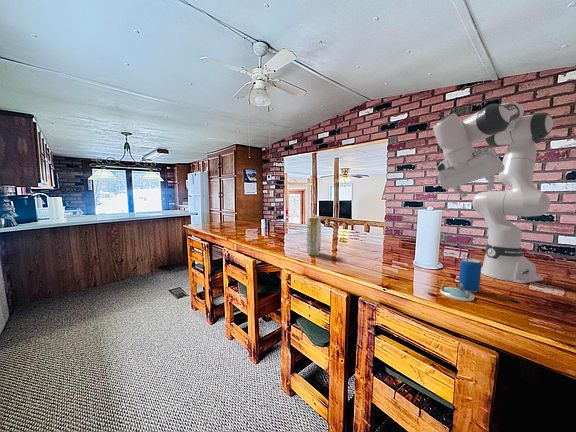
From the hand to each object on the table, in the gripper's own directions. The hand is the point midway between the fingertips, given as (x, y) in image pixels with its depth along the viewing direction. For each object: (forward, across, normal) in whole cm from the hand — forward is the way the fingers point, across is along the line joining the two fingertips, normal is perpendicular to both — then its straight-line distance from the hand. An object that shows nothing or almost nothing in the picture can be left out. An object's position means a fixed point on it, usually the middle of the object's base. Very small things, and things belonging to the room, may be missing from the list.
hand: (477, 193), depth 84 cm
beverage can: (+35, +14, +6) cm, 39 cm away
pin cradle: (+33, +12, +15) cm, 38 cm away
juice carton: (+6, +77, +38) cm, 86 cm away
